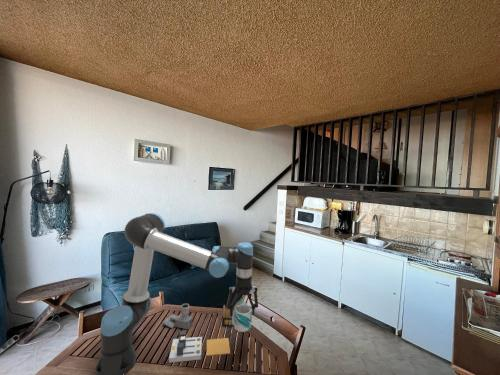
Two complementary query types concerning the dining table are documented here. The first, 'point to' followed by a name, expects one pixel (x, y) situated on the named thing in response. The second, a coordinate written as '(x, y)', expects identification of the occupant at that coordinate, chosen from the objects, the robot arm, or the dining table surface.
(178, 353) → the block
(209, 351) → the pad
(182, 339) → the breaker
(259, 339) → the dining table surface
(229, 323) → the ammunition clip
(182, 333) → the breaker
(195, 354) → the breaker panel
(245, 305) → the mug
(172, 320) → the camera
